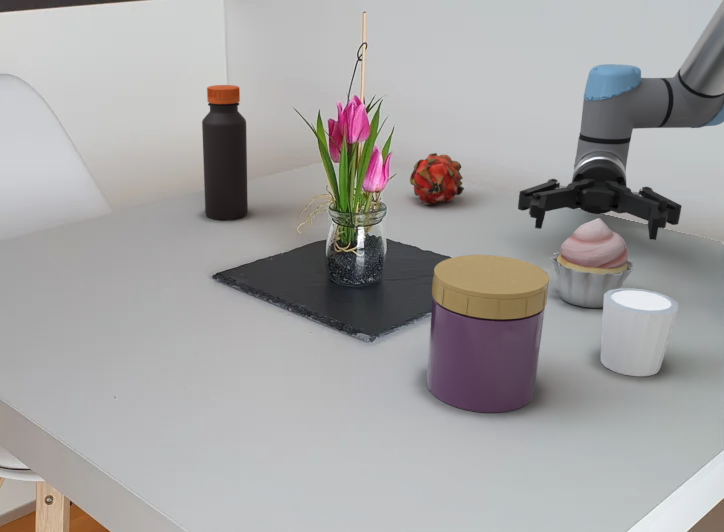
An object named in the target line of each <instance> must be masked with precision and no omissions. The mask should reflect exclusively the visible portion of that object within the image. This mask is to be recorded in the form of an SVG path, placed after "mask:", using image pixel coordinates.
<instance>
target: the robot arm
mask: <svg viewBox="0 0 724 532" xmlns="http://www.w3.org/2000/svg"><path fill="white" fill-rule="evenodd" d="M581 111H582V112H581V122H580V131H579V136H578V138H577V139H578V140H577V147H576V152H575V153H576V154H575V159H574V164H573V173H572V179H571V182H570V183H568V184H567V185H561V182H559V180H557V179H556V178H549V179H548V181H546V182H544V183H540V184H537V185H535V186H531V187H529V188H526V189H523V190H520V191H519V193H518V204H517V210H519V211H527V210H528V211H529V212H528V215H530V216H529V217H530V218H532V219H535V225H534V227H535V229H542V227H543V223H544V221H545V220H544V219H545V215H546V212H549V211H554V210H559V209H565V208H568V209H571V210H576V209H580V210H582V211H583V212H585V213H588V214H592V215H603V214H607V213H610V212H613V213H616V214H629V215H632V216H634V217H636V218H639V219H642V220H644V221H647V231H648V238H649V240H652V241H657V237H658V232H659V229H665V228H666V227H667V224H669V225H673V226H677V225H679V222H680V216H681V212H682V204H680V203H677V202H676V201H673V200H672V199H670V198H667V197H665V196H663V195H661V194H659V193H657V192H656V191H654V190H653V188H651V187H650V186H643V187H642V188H640V189H639V190H638V191H632V189H631V188H629V187H627V172H626V171H627V164H628V157H629V152H630V151H629V150H630V146H631V145H630V144H631V139H632V134H633V130H634V129H683V128H685V129H689V128H690V129H700V128H704V127H712V126H713V127H714V126H718V125H721V124H723V123H724V0H722V1H721V3H720V4H719V6H718V8H716V11H715V12H714V14H713V15H712V17H711V19H710V20H709V21H708V23H707V25H706V26H705V28H704V30H703V31H702V32H701V35H700V36H699V38H698V39H697V41H696V42H695V44H694V45H693V47H692V48H691V50H690V52H689V53H688V55H687V57H686V58H685V60H684V61H683V63H682V64H681V65H680V67H679V69H678V71H677V72H676V73H675V75H674V76H673V77H642V70H641V68H639V67H638V66H636V65H629V64H613V63H608V64H607V63H605V64H597V65H595V66H592V68H591V69H590V70H589V72H588V75H587V79H586V84H585V87H584V93H583V102H582V110H581Z"/></svg>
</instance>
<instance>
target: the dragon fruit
mask: <svg viewBox="0 0 724 532" xmlns="http://www.w3.org/2000/svg"><path fill="white" fill-rule="evenodd" d="M461 169H462V165H461V163H460V162H459V161H457V160H452V158H451V156H450V155H447V154H439V155H438V153H437V152H433V153H429V154H428V155H427V157H426V158H425V159H419V160H418V161H416V162H415V164H414V165H413V170H412V173H411V174H410V177H409V184H410V185H413V192H414V196H416V197H418V198H419V200H420V201H421V203H422V204H424V205H425V206H431V205H434V204H435V203H436V202H440V203H443V202H444V203H449V202H451V201H452V200H453V199H454V198H455V197H456V196H459V195H461V194H462V193H463V192H464V191H465V188H464V187H463V186H462V185H463V182H462V180H463V178H464V177H463V176H462V174H461V172H460V170H461Z"/></svg>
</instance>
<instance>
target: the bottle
mask: <svg viewBox="0 0 724 532" xmlns="http://www.w3.org/2000/svg"><path fill="white" fill-rule="evenodd" d="M240 91H241V90H240V87H239V86H238V85H233V84H232V85H231V84H217V85H216V84H215V85H209V86H207V87H206V96H207V97H206V98H207V100H206V101H207V106H209V112H208V113H207V114H206V115H205V117H204V118H203V119H202V121H201V129H202V155H203V158H202V160H203V183H204V184H203V187H204V212H205V216H207V217H208V218H210V219H212V220H219V221H231V220H232V221H233V220H238V219H239V220H240V219H242V218H244V217H246V216H247V214H248V211H249V210H248V209H249V207H248V203H249V202H248V153H247V152H248V151H247V150H248V149H247V147H248V146H247V143H248V142H247V120H246V119H245V118H246V117H244V116H243V114H241V113H240V111H239V107H238V106H240V102H241V96H240V93H241V92H240Z"/></svg>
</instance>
